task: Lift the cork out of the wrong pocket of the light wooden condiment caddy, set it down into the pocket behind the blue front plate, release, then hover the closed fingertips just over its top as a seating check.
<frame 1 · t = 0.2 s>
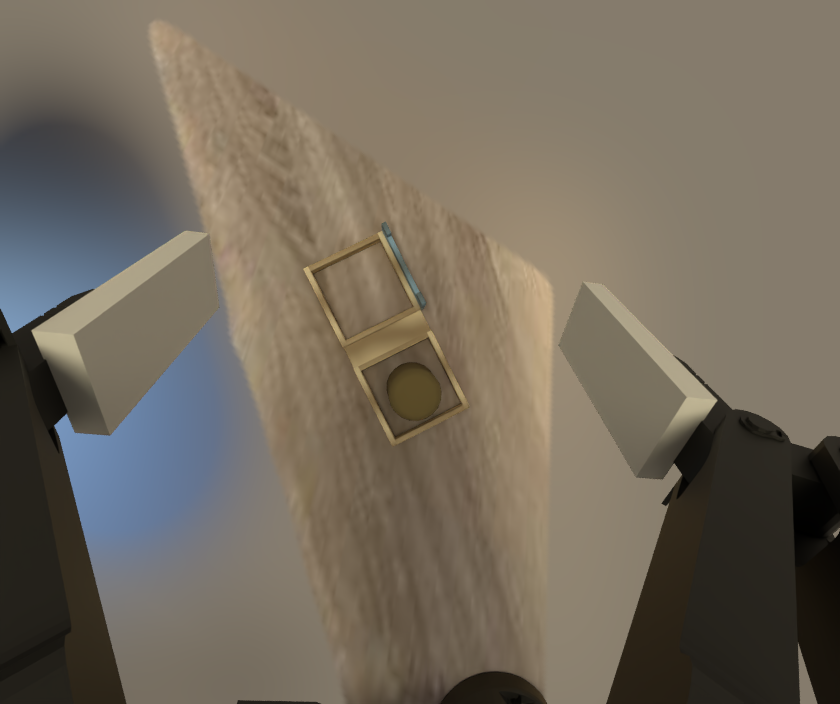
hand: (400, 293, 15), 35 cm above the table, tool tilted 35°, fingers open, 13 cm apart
cork: (411, 387, 50), resting in caddy
caddy: (387, 339, 49), on the table
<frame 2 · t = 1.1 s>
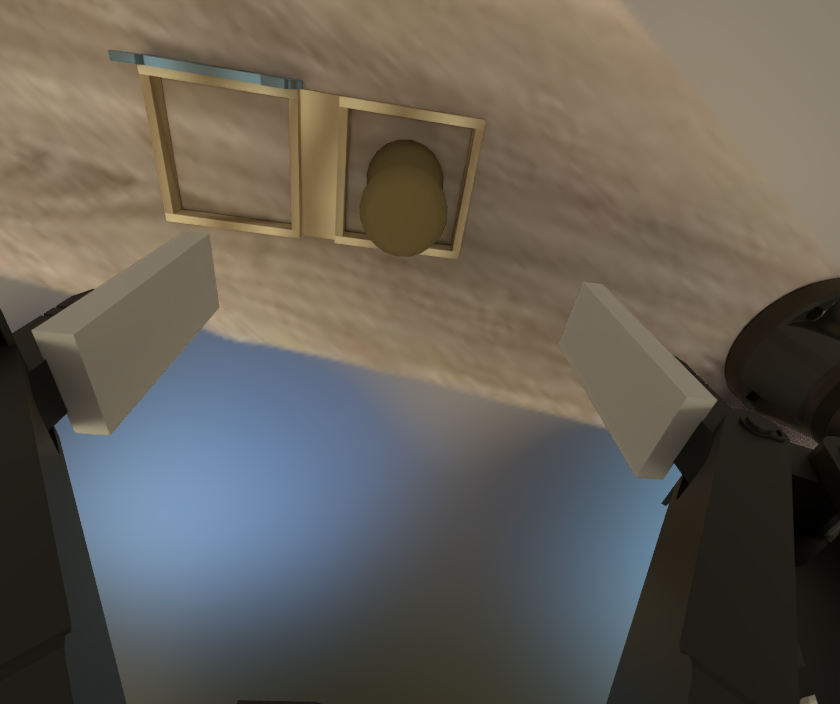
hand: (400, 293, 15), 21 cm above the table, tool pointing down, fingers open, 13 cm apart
cork: (405, 181, 32), resting in caddy
caddy: (321, 170, 32), on the table
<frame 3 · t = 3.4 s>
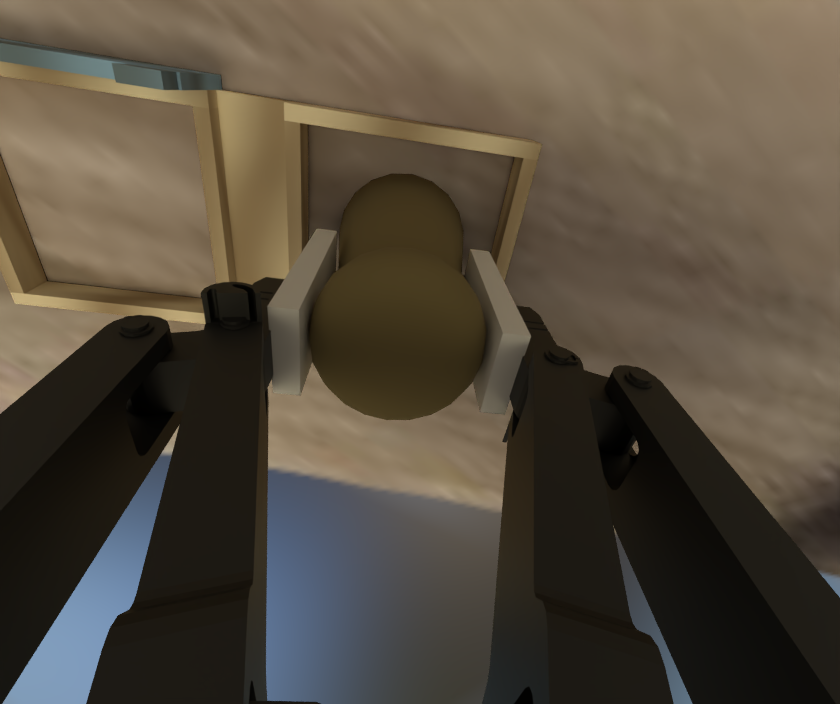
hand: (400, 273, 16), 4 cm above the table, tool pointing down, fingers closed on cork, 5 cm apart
cork: (401, 238, 20), resting in caddy, touching gripper
caddy: (265, 221, 19), on the table
when the fingers open (4 cm above the table, at t = 7.7 s): cork stays where it is, resting in caddy.
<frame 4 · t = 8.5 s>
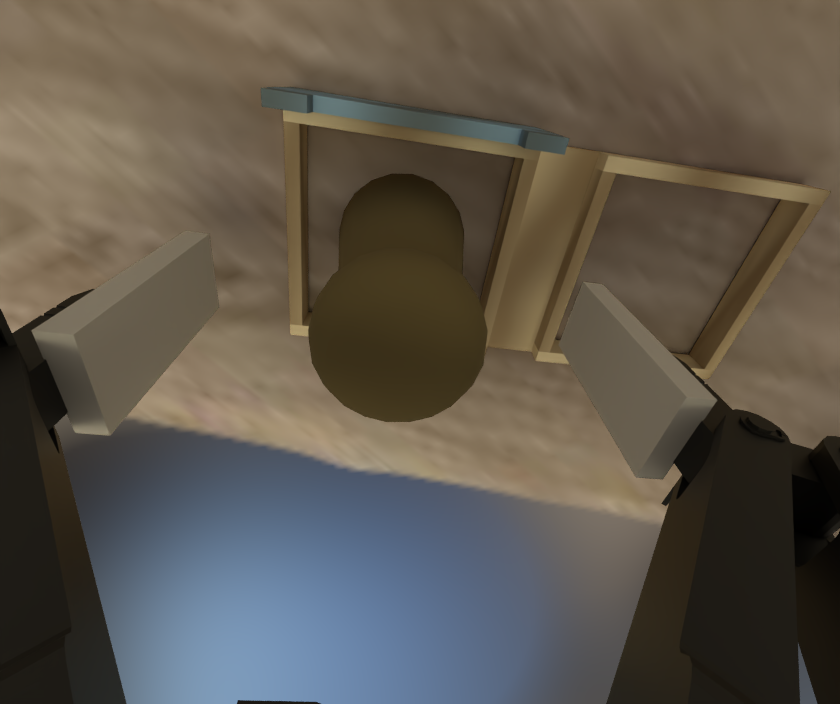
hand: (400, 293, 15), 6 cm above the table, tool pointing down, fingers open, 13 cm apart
cork: (402, 238, 20), resting in caddy
caddy: (530, 257, 21), on the table
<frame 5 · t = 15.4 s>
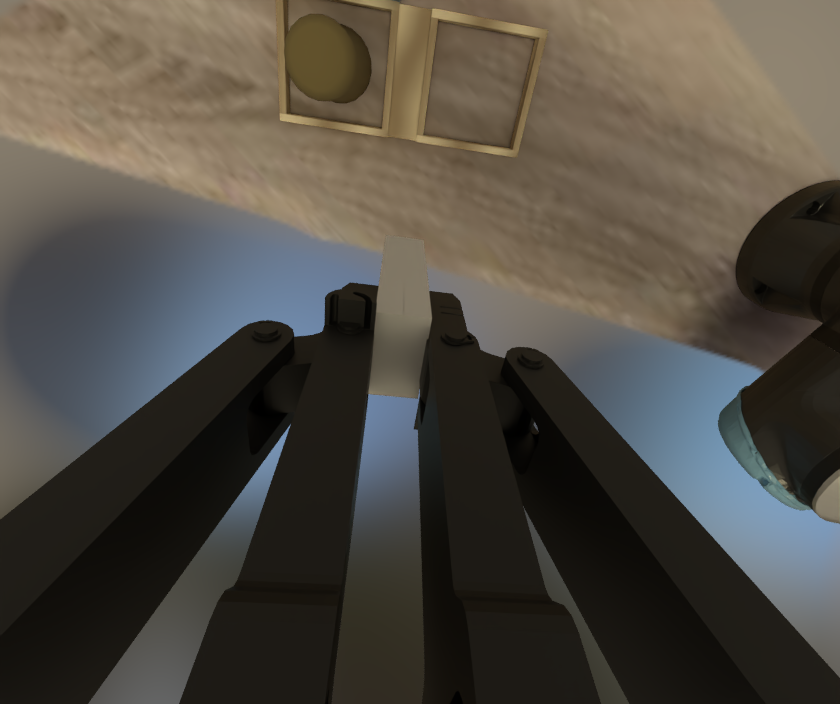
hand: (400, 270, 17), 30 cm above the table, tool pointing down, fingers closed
cork: (339, 65, 38), resting in caddy
caddy: (408, 77, 38), on the table
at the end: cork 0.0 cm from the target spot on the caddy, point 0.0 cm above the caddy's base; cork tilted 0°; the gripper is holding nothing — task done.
